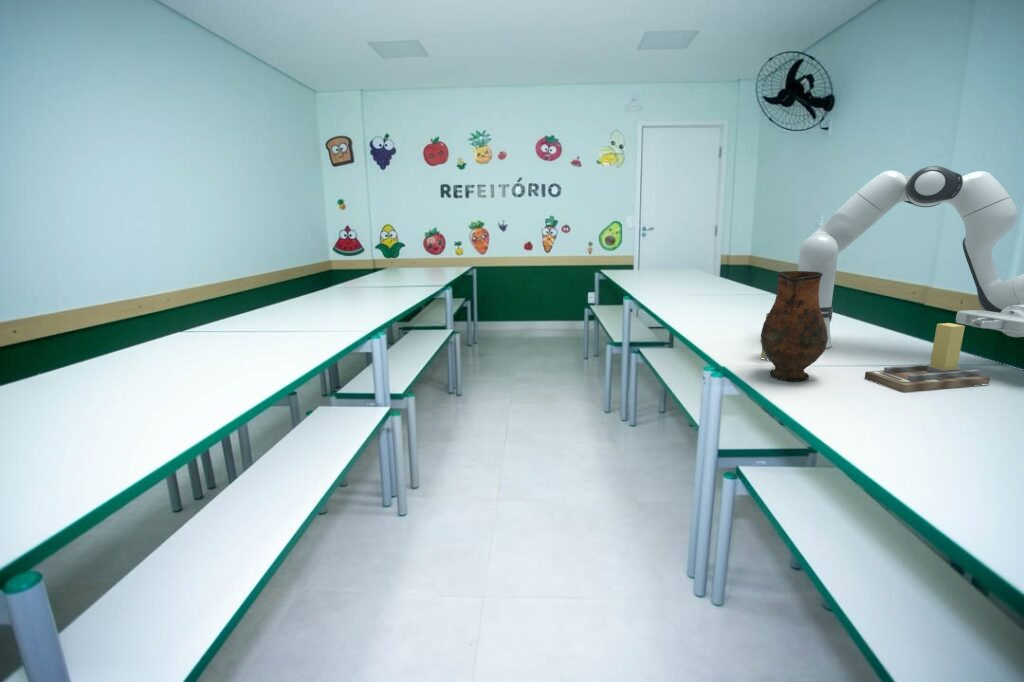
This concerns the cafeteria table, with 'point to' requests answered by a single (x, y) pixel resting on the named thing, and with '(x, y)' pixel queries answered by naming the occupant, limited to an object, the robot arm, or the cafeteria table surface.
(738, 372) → the cafeteria table surface
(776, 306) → the brown vase
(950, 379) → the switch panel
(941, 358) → the slider tab
